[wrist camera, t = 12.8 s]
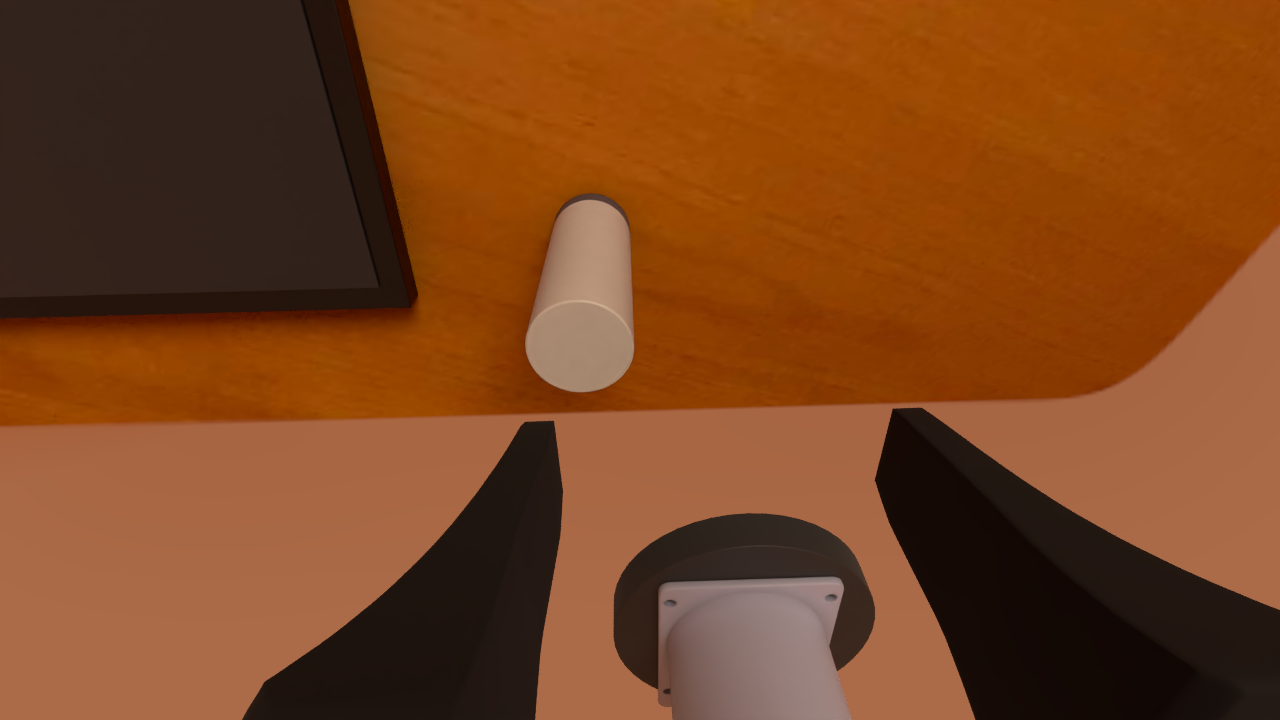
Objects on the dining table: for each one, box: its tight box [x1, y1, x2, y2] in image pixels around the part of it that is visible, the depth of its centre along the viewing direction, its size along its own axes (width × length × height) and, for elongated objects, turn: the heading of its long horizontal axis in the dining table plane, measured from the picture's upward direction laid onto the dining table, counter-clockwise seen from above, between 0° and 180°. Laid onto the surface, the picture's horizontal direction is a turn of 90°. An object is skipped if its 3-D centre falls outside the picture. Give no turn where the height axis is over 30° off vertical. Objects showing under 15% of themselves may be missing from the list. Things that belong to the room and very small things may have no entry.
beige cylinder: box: [525, 194, 634, 392], centre depth 16 cm, size 2×2×7 cm
